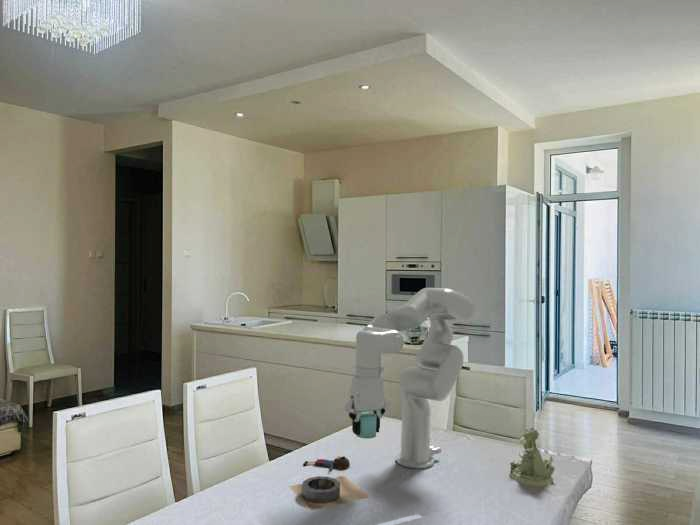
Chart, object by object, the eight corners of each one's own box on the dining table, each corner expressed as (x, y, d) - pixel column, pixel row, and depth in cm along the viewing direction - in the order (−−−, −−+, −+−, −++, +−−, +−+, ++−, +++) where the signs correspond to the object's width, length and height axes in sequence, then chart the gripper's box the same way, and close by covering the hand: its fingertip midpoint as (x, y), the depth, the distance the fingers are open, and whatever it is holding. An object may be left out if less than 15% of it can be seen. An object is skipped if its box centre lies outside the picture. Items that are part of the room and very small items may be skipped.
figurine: (562, 478, 166) (563, 430, 166) (545, 491, 157) (546, 440, 157) (519, 465, 176) (520, 420, 176) (500, 477, 166) (501, 429, 166)
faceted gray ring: (329, 484, 156) (329, 474, 156) (346, 498, 146) (346, 487, 146) (296, 491, 151) (296, 480, 151) (311, 506, 141) (311, 495, 141)
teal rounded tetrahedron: (369, 431, 163) (370, 411, 163) (379, 436, 157) (380, 416, 157) (352, 433, 160) (352, 413, 160) (362, 439, 154) (363, 419, 154)
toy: (298, 478, 165) (345, 479, 162) (297, 462, 165) (344, 464, 162) (310, 461, 179) (354, 463, 176) (309, 447, 179) (353, 448, 176)
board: (343, 478, 162) (343, 475, 162) (370, 500, 148) (370, 496, 148) (288, 489, 154) (289, 486, 154) (311, 513, 140) (311, 509, 140)
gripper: (385, 368, 166) (383, 425, 166) (336, 371, 158) (334, 432, 158) (398, 372, 159) (397, 432, 159) (348, 376, 151) (346, 440, 151)
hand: (366, 432), depth 158 cm, fingers closed on teal rounded tetrahedron, 6 cm apart
